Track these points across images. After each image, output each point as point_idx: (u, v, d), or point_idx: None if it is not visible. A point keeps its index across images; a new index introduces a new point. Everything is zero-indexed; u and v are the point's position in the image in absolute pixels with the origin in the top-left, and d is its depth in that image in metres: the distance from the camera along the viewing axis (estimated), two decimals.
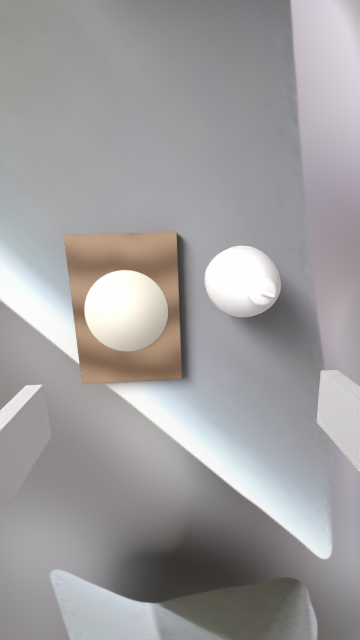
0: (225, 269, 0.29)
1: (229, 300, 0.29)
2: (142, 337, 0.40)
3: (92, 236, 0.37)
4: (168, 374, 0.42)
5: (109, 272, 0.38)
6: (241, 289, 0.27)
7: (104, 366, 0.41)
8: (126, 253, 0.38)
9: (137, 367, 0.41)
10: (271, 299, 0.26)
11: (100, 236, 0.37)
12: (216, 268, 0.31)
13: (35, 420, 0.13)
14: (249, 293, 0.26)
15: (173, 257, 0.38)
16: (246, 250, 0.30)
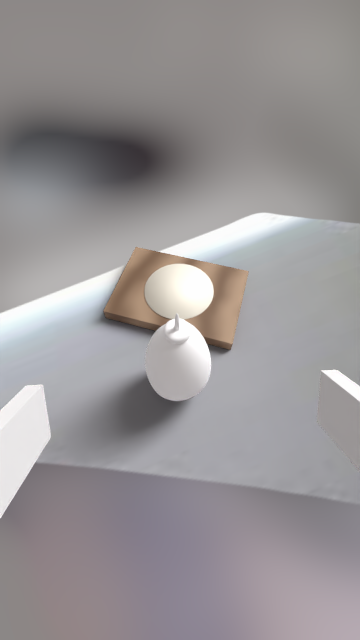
0: None
1: None
2: (153, 293, 0.47)
3: (243, 287, 0.47)
4: (113, 302, 0.46)
5: (214, 289, 0.47)
6: None
7: (142, 263, 0.50)
8: (224, 304, 0.46)
9: (130, 283, 0.48)
10: (167, 333, 0.28)
11: (242, 291, 0.47)
12: None
13: (35, 420, 0.13)
14: (179, 318, 0.29)
15: (212, 335, 0.43)
16: (208, 360, 0.32)
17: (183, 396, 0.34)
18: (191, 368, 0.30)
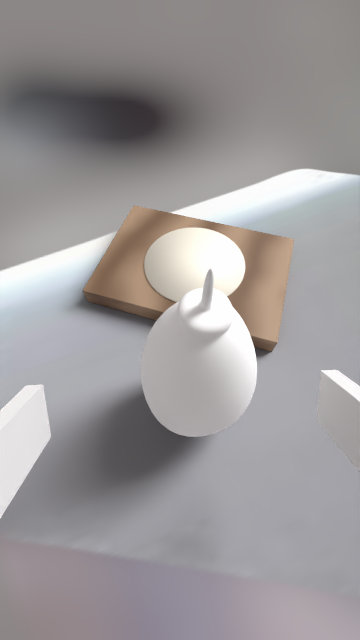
0: None
1: None
2: (157, 267, 0.32)
3: (288, 260, 0.33)
4: (98, 278, 0.31)
5: (245, 262, 0.32)
6: None
7: (142, 227, 0.35)
8: (262, 283, 0.31)
9: (124, 253, 0.33)
10: (186, 316, 0.13)
11: (287, 266, 0.32)
12: None
13: (35, 420, 0.13)
14: None
15: None
16: (256, 371, 0.18)
17: (206, 433, 0.19)
18: (229, 388, 0.15)
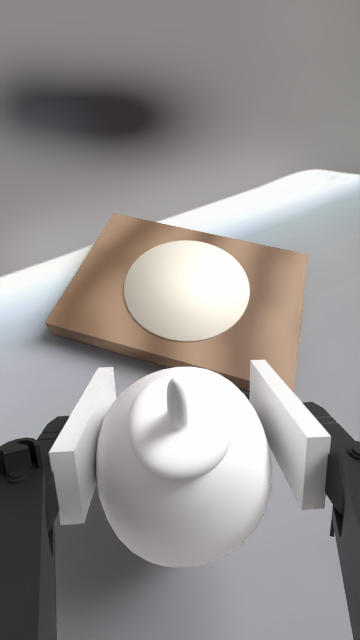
0: (243, 394, 0.12)
1: (168, 368, 0.11)
2: (140, 291, 0.26)
3: (302, 281, 0.26)
4: (65, 307, 0.25)
5: (249, 284, 0.26)
6: None
7: (123, 240, 0.29)
8: (271, 312, 0.25)
9: (100, 273, 0.27)
10: (140, 441, 0.07)
11: (301, 289, 0.26)
12: None
13: (110, 397, 0.14)
14: (188, 375, 0.08)
15: None
16: (271, 478, 0.11)
17: None
18: (227, 535, 0.09)
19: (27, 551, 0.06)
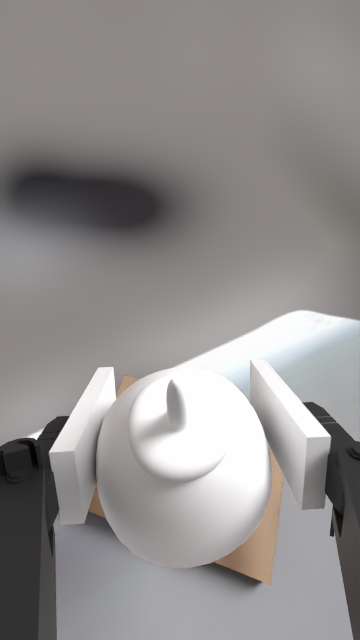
0: (243, 395, 0.12)
1: (168, 369, 0.11)
2: None
3: None
4: None
5: None
6: None
7: None
8: None
9: None
10: (140, 442, 0.07)
11: None
12: None
13: (110, 397, 0.14)
14: (187, 376, 0.08)
15: (237, 564, 0.27)
16: (271, 478, 0.11)
17: None
18: (227, 536, 0.09)
19: (27, 551, 0.06)
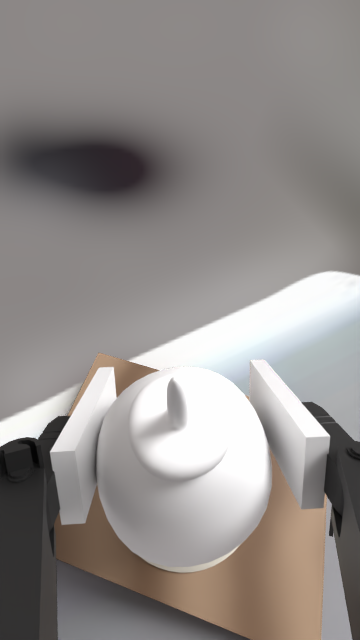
0: (243, 394, 0.12)
1: (168, 368, 0.11)
2: None
3: None
4: None
5: None
6: None
7: None
8: (288, 519, 0.20)
9: None
10: (141, 441, 0.07)
11: None
12: None
13: (111, 397, 0.14)
14: (188, 375, 0.08)
15: (265, 633, 0.17)
16: (271, 477, 0.11)
17: None
18: (227, 534, 0.09)
19: (28, 551, 0.06)
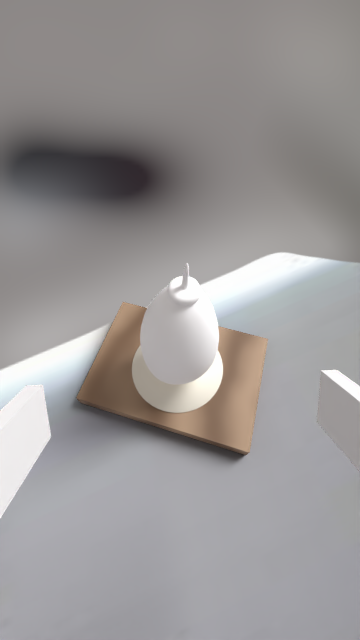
0: None
1: None
2: (144, 372, 0.35)
3: (262, 362, 0.36)
4: (90, 384, 0.35)
5: (223, 365, 0.36)
6: None
7: (130, 326, 0.39)
8: (238, 388, 0.35)
9: (114, 356, 0.37)
10: (173, 292, 0.22)
11: (260, 369, 0.36)
12: None
13: (35, 420, 0.13)
14: None
15: (221, 438, 0.32)
16: (217, 333, 0.27)
17: (185, 377, 0.28)
18: (198, 340, 0.25)
19: None
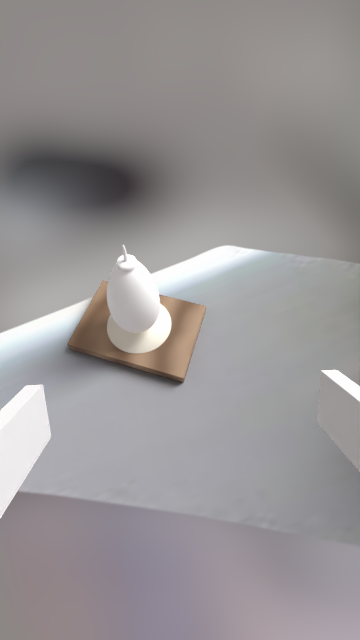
0: None
1: None
2: (115, 327, 0.50)
3: (199, 322, 0.51)
4: (77, 335, 0.50)
5: (171, 323, 0.51)
6: None
7: None
8: (180, 338, 0.49)
9: (95, 317, 0.51)
10: (118, 263, 0.37)
11: (198, 326, 0.51)
12: None
13: (35, 420, 0.13)
14: None
15: (165, 369, 0.46)
16: (155, 292, 0.42)
17: (136, 323, 0.43)
18: (139, 294, 0.39)
19: None
